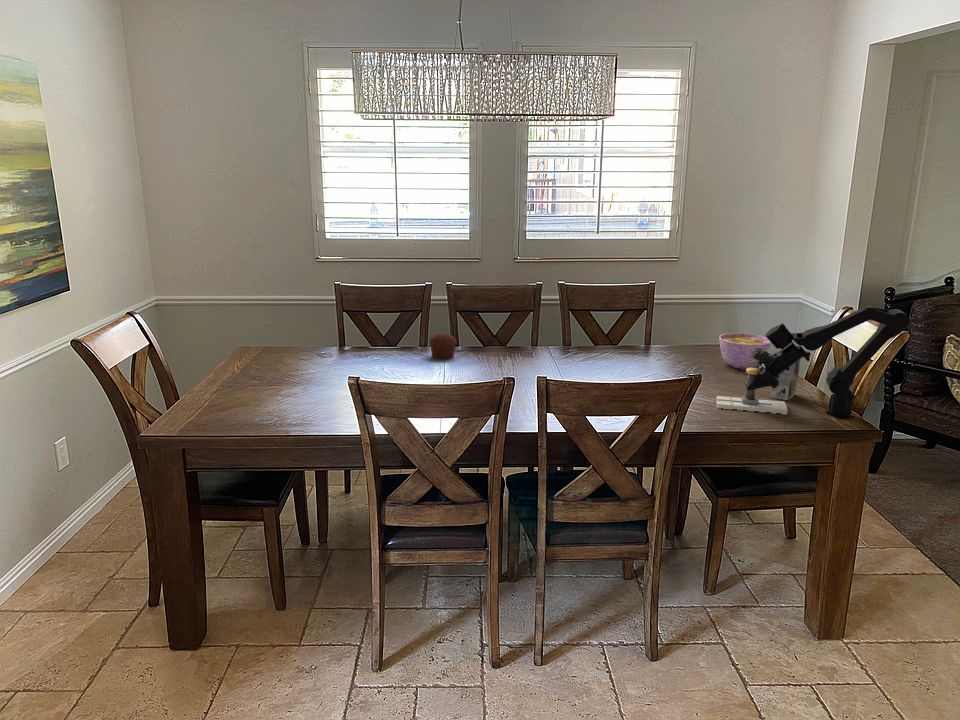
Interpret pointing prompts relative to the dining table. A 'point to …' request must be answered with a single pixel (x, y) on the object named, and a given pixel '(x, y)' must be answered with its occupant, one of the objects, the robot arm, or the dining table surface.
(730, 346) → the bowl of food
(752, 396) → the lever
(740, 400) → the fader console
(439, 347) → the muffin
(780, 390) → the coffee box
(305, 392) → the dining table surface
